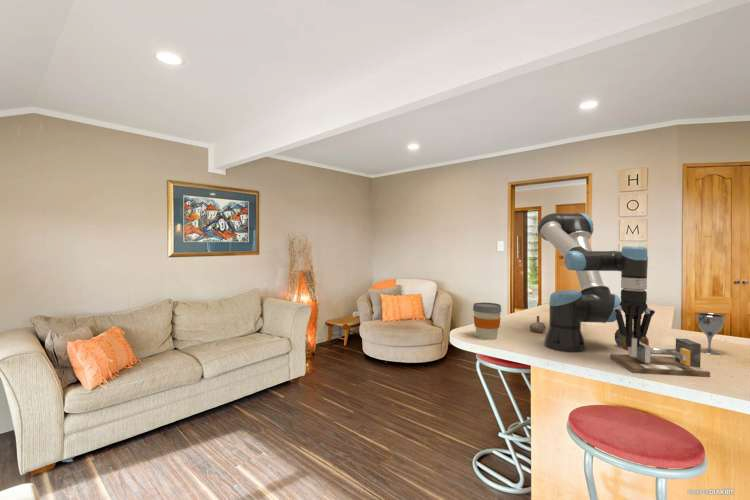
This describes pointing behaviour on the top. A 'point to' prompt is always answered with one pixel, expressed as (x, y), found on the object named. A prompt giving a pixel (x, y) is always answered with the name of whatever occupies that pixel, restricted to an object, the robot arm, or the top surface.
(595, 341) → the top surface
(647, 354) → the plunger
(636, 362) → the gauge bench
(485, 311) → the reusable coffee cup
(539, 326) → the garlic bulb
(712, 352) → the wine glass
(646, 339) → the brown oval slab
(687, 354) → the pointer
